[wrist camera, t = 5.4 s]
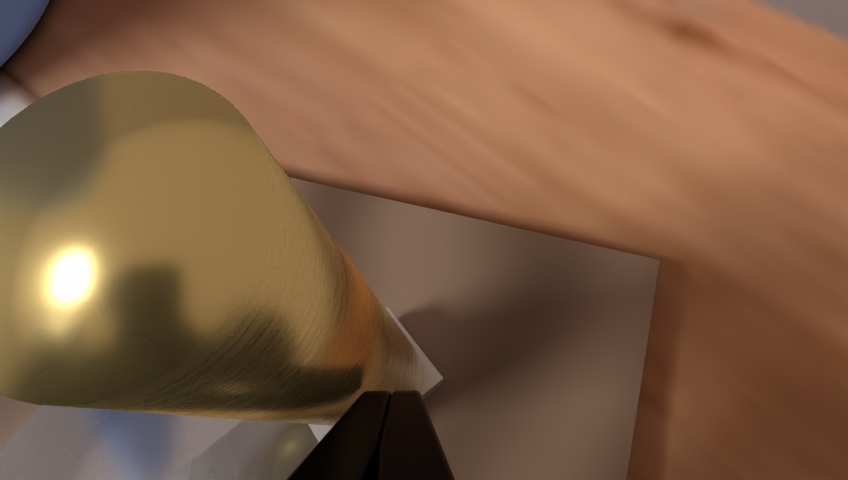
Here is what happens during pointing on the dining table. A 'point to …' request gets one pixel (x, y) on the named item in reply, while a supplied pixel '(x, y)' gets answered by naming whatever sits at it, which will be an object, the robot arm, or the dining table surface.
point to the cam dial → (174, 293)
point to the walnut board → (499, 334)
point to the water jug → (17, 23)
